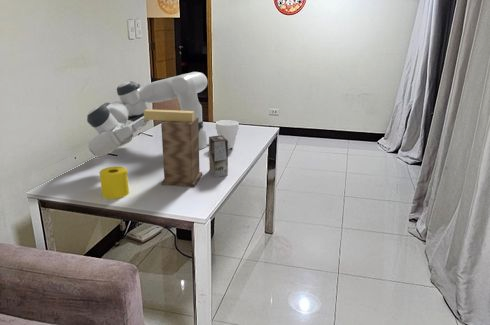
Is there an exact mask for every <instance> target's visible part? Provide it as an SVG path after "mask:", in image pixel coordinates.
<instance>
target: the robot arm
mask: <svg viewBox="0 0 490 325" xmlns="http://www.w3.org/2000/svg"><path fill="white" fill-rule="evenodd" d="M207 87H208V78H207V76H206V75H205V74H204V73H203V72H199V71H192V72H188V73H182V74H180V75H175V76H172V77H171V76H170V77H168V78H164V79H160V80H156V81H152V82H150V83H146V84H145V85H143V86H142V87H141V84H140V83H136V82H134V81H124V82H121V83H120V84H119V85H118V86H117V87H116V93H117V96H118V97H119V100H120V101H113V102H111V103H110V102H105V103H103V104H101V105H100V106H97V107H94V108H93V109H91V110H90V111H89V112H88V114H87V116H86V117H87V118H86V120H87V123H88V124H89V125H90V127H92V128H93V129H94V130H95V131H96V132H97V134H98V135H96V136H95V137H93V138H92V139H91V140H90V141H88V143H87V147H88V150H89V151H90V152H91V153H92V154H93V155H94V156H95V157H97V158H100V157H103V156H106V155H108V154H110V153H112V152H114V151H115V150H116V149H118V148H121V147H123V146H124V145H126V144H128V143H130V142H132V140H133V137H134V133H136V132H137V131H139V130H140V129H142V128H144V127H145V126H147V125H148V124H149V123H150V121H151V120H144V111H145V110H146V109H148V108H147V104H148V103H149V104H153V103H154V104H155V103H156V104H157V103H162V102H166V101H170V100H175V99H177V100H178V103H179V107H180V108H179V109H180V111H194V117H198V130H199V150H203V149H205V148H206V147H209V141H207V140H208V139H207V131H206V129H205V128H204V121H203V106H202V104H201V103H200V101H199V98H198V93H201V92H203V91H204V90H205V89H206V88H207ZM146 103H147V104H146ZM128 121H130V122H131V123H129V124H128V123H127V122H128Z"/></svg>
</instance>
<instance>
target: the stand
mask: <svg viewBox="0 0 490 325" xmlns="http://www.w3.org/2000/svg"><path fill="white" fill-rule="evenodd" d="M194 119H195V120H194V121H193V122H189V121H167V120H162V122H161V123H160V124H161V126H160V128H161V143H162V146H161V147H162V160H163V162H162V163H163V175H164V176H163V180H161V182H160V183H161V186H174V187H175V186H176V187H190V188H195V187H196V185H197V184H198V182H199V181H200V179H201V178H202V176H203V172H202V171H200V149H199V130H198V117H194Z"/></svg>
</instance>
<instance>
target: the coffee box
mask: <svg viewBox="0 0 490 325" xmlns="http://www.w3.org/2000/svg"><path fill="white" fill-rule="evenodd" d="M208 143H209V145H208V150H209V151H208V153H209V155H208V156H209V159H208V160H209V163H208V164H209V171H210V173H211V174H212V175H213V176H214V177H215V178H217V177H225V176H228V174H229V165H228V164H229V163H228V162H229V161H228V160H229V159H228V157H229V149H228V140H227V139H225V138H224V137H223V136H222V135H221V136H218V135H212V136H208Z"/></svg>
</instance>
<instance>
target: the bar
mask: <svg viewBox="0 0 490 325" xmlns="http://www.w3.org/2000/svg"><path fill="white" fill-rule="evenodd" d="M144 120H150V121H164V120H167V121H189V122H193V121H194V120H195V119H194V111H181V110H176V109H174V110H173V109H150V108H149V109H148V108H147V109H146V110H145V111H144Z"/></svg>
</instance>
